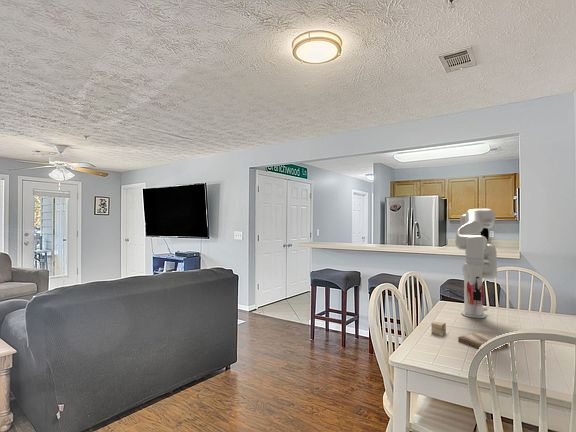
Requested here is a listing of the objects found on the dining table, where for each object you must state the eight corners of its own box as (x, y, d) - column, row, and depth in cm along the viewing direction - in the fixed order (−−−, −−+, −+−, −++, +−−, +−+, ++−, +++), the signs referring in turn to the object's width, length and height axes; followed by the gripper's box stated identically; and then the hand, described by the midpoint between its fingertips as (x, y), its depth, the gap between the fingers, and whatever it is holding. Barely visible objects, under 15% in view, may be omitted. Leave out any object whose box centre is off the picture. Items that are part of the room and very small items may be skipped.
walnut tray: (478, 336, 162) (478, 332, 162) (508, 346, 149) (507, 341, 149) (458, 341, 156) (458, 336, 156) (486, 351, 143) (486, 346, 143)
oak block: (435, 330, 171) (435, 320, 171) (445, 333, 168) (445, 323, 168) (431, 333, 168) (431, 322, 168) (441, 335, 164) (441, 325, 164)
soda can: (472, 302, 167) (472, 278, 167) (486, 305, 161) (486, 280, 161) (463, 304, 164) (463, 279, 164) (478, 307, 157) (477, 281, 158)
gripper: (462, 259, 172) (462, 294, 172) (470, 263, 155) (470, 301, 155) (478, 260, 170) (478, 295, 170) (488, 263, 153) (489, 303, 153)
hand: (475, 298), depth 162 cm, fingers closed on soda can, 7 cm apart
